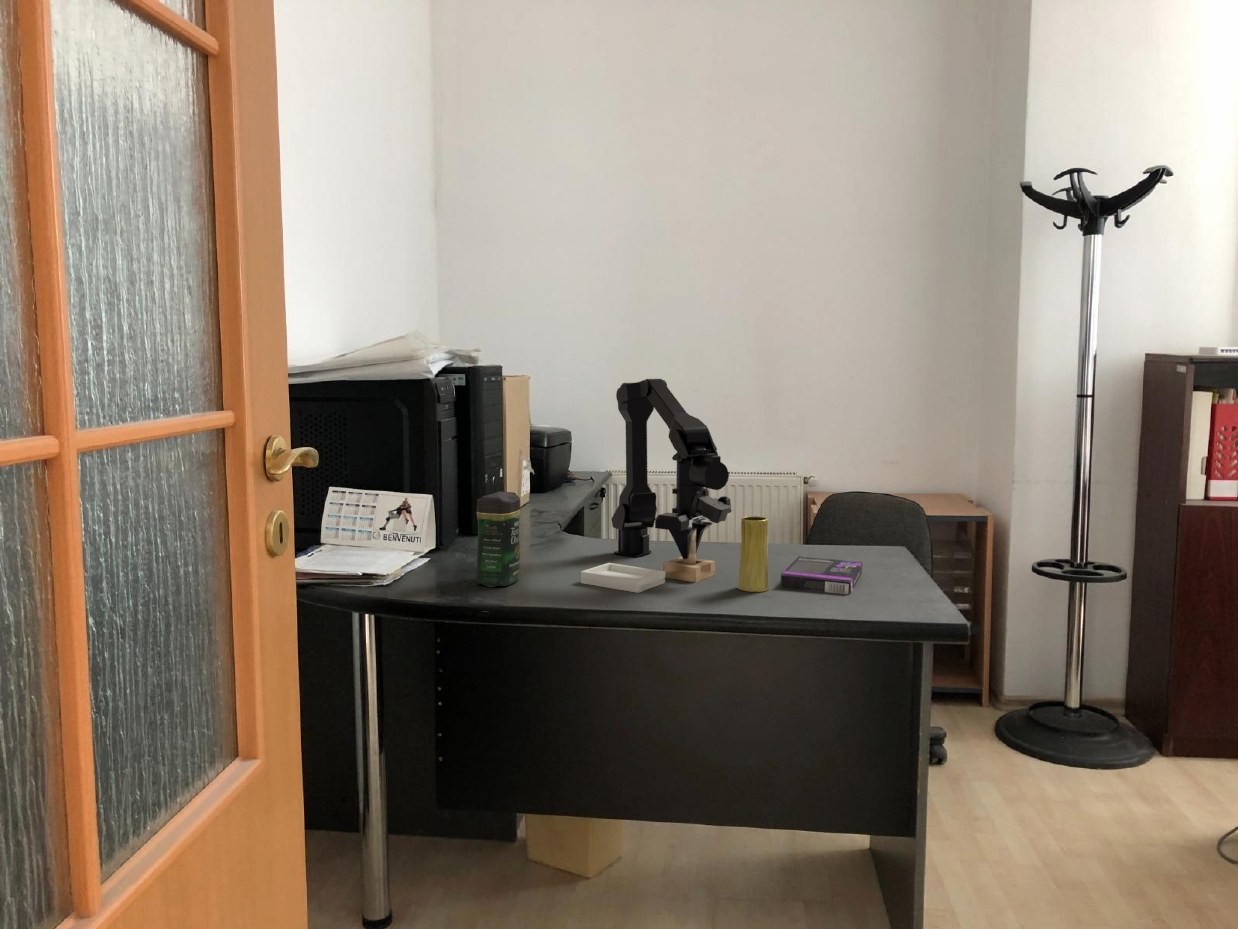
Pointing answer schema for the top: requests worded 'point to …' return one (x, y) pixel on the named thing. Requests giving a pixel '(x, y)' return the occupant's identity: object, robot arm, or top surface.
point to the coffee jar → (498, 539)
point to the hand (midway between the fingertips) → (689, 557)
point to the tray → (623, 577)
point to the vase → (754, 554)
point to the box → (822, 575)
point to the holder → (689, 570)
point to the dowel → (691, 551)
